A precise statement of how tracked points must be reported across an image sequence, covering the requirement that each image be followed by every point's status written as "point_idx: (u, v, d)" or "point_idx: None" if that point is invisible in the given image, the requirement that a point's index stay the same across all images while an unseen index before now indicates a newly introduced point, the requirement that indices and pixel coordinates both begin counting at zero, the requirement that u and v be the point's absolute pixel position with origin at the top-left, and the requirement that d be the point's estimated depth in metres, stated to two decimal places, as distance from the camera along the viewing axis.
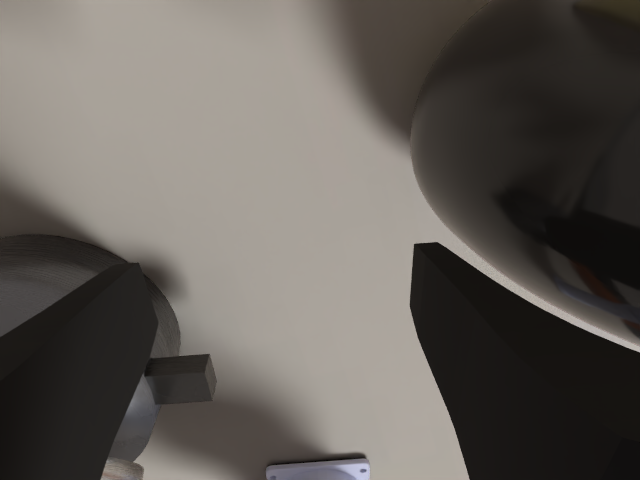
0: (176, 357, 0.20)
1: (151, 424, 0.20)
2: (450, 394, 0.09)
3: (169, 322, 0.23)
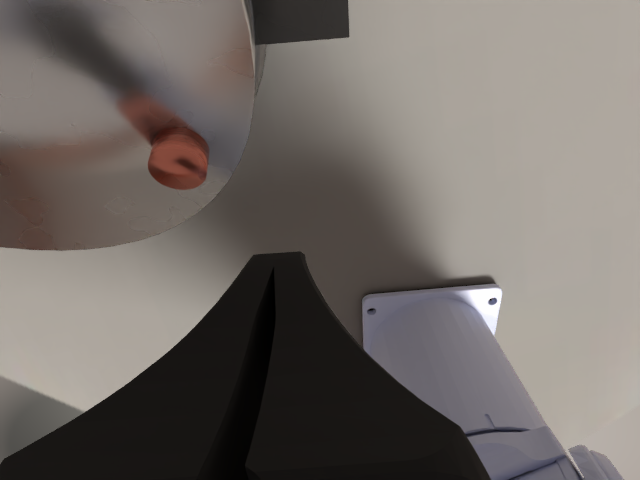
0: None
1: None
2: None
3: None
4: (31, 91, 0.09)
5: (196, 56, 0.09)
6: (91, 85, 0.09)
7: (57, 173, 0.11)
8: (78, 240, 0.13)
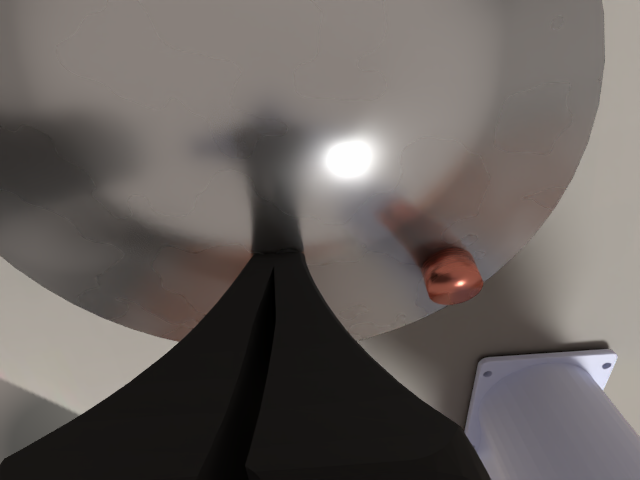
0: None
1: None
2: None
3: None
4: (349, 219, 0.10)
5: (515, 193, 0.09)
6: (406, 215, 0.10)
7: (317, 284, 0.11)
8: None
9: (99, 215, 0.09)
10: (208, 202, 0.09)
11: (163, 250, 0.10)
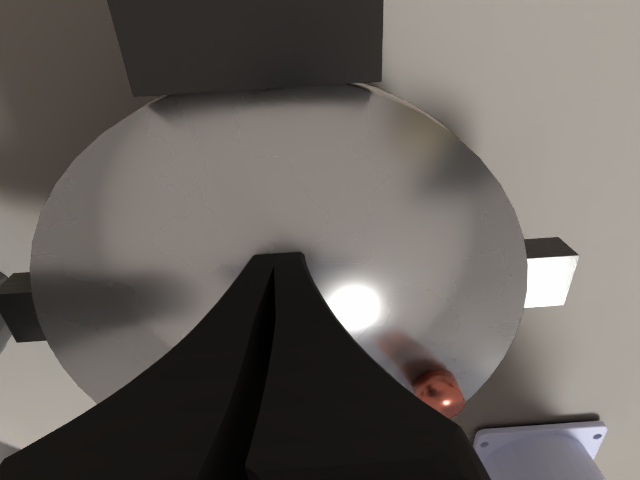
0: None
1: None
2: None
3: None
4: None
5: (480, 325, 0.12)
6: (396, 342, 0.12)
7: None
8: None
9: (156, 345, 0.12)
10: None
11: None
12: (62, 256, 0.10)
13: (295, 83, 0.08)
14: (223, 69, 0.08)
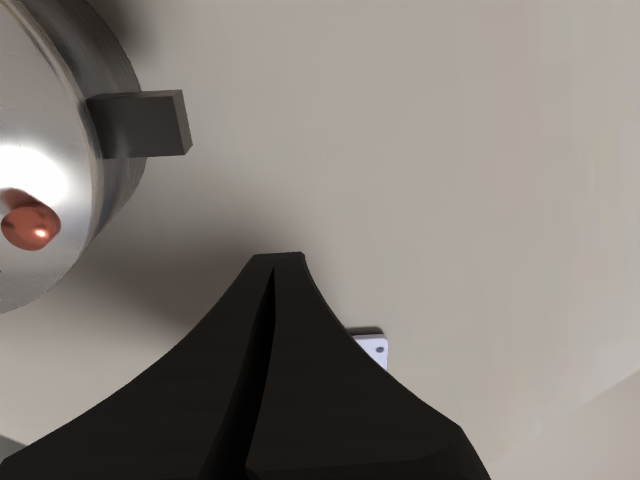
0: (134, 92, 0.14)
1: None
2: None
3: (131, 86, 0.17)
4: None
5: (44, 147, 0.12)
6: None
7: None
8: None
9: None
10: None
11: None
12: None
13: None
14: None
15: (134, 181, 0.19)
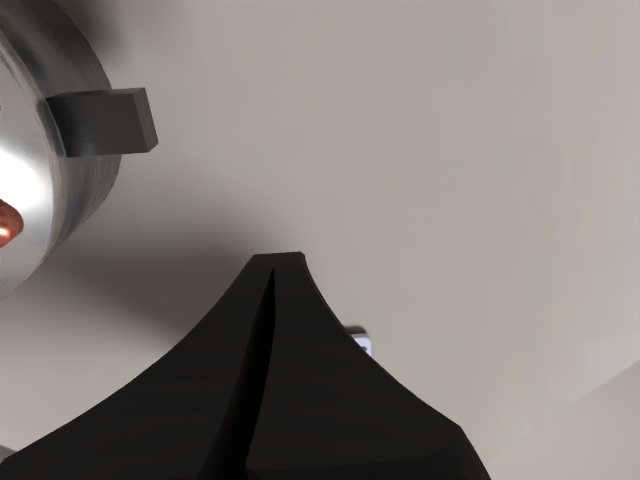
0: (97, 90, 0.14)
1: None
2: None
3: (101, 86, 0.17)
4: None
5: (3, 145, 0.12)
6: None
7: None
8: None
9: None
10: None
11: None
12: None
13: None
14: None
15: (107, 181, 0.19)
